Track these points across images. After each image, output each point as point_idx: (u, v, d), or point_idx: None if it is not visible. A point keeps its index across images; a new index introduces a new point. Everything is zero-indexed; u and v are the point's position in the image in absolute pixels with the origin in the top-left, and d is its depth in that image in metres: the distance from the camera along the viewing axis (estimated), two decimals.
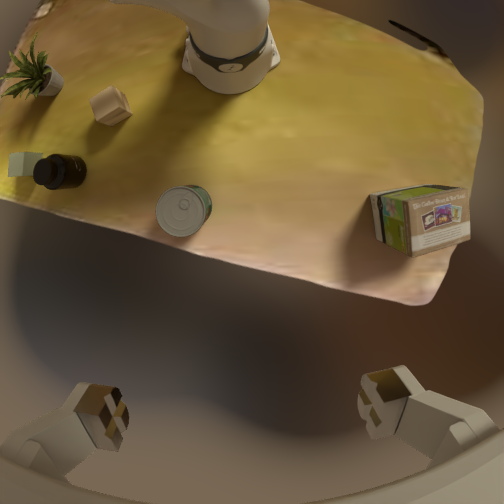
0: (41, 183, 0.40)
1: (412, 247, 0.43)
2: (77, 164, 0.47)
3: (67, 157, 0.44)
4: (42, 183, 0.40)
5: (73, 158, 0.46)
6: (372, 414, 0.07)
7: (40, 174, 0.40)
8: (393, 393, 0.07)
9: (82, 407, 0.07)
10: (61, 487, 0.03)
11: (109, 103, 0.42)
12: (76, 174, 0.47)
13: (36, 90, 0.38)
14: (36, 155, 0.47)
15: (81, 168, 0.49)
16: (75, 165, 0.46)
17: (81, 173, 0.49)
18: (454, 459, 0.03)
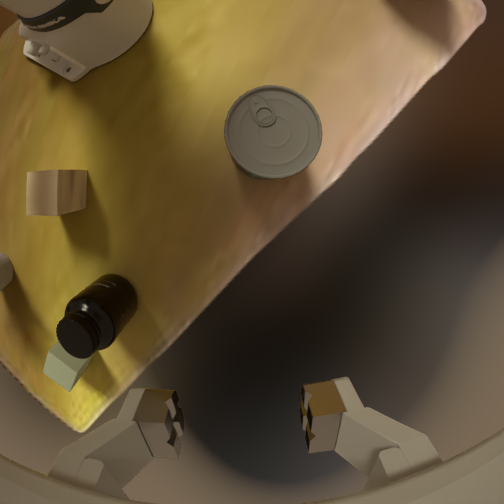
0: (90, 350, 0.25)
1: None
2: (103, 283, 0.31)
3: (83, 291, 0.29)
4: (90, 349, 0.25)
5: (92, 284, 0.31)
6: (308, 426, 0.07)
7: (76, 344, 0.25)
8: (326, 407, 0.07)
9: (143, 415, 0.07)
10: (61, 487, 0.03)
11: (46, 184, 0.25)
12: (116, 292, 0.31)
13: None
14: None
15: (113, 281, 0.33)
16: (102, 286, 0.30)
17: (121, 284, 0.33)
18: (454, 459, 0.03)
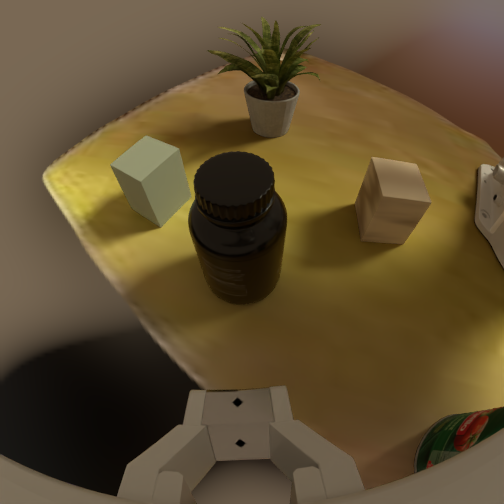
0: (213, 198, 0.16)
1: None
2: None
3: None
4: (217, 200, 0.16)
5: None
6: None
7: (225, 178, 0.17)
8: (254, 415, 0.07)
9: (212, 418, 0.07)
10: (61, 487, 0.03)
11: (413, 186, 0.23)
12: (272, 271, 0.22)
13: None
14: (183, 185, 0.29)
15: (279, 270, 0.24)
16: None
17: (273, 282, 0.24)
18: (454, 459, 0.03)
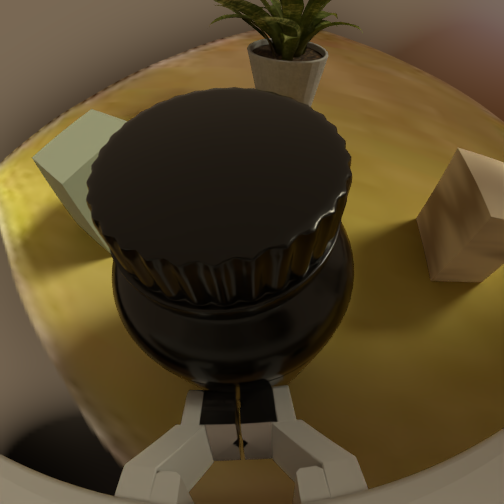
0: (127, 228, 0.04)
1: None
2: None
3: None
4: (139, 237, 0.04)
5: None
6: None
7: (183, 153, 0.05)
8: (257, 415, 0.07)
9: (210, 418, 0.07)
10: (61, 487, 0.03)
11: None
12: None
13: None
14: None
15: None
16: None
17: None
18: (454, 459, 0.03)
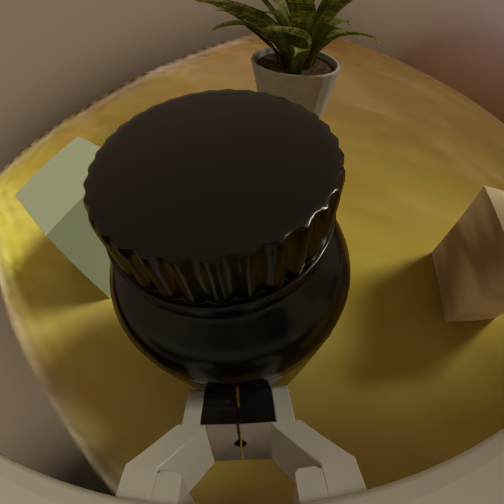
0: (124, 228, 0.04)
1: None
2: None
3: None
4: (135, 236, 0.04)
5: None
6: None
7: (179, 154, 0.05)
8: (255, 415, 0.07)
9: (210, 418, 0.07)
10: (61, 487, 0.03)
11: None
12: (302, 368, 0.10)
13: None
14: None
15: None
16: None
17: None
18: (454, 459, 0.03)
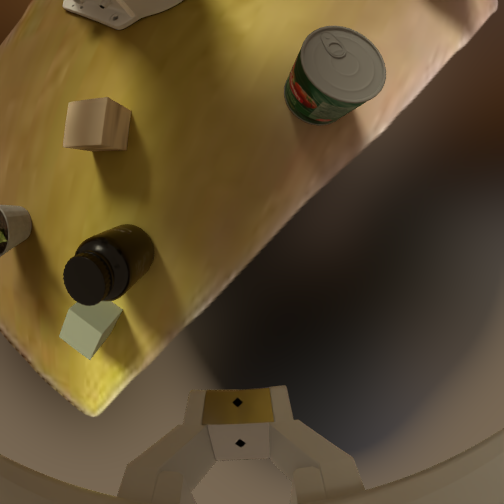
0: (101, 293, 0.23)
1: None
2: (118, 229, 0.30)
3: None
4: (102, 291, 0.23)
5: None
6: None
7: (85, 287, 0.23)
8: (254, 415, 0.07)
9: (212, 418, 0.07)
10: (61, 487, 0.03)
11: (91, 112, 0.24)
12: (132, 237, 0.29)
13: None
14: None
15: (129, 228, 0.31)
16: (117, 230, 0.29)
17: (137, 232, 0.31)
18: (454, 459, 0.03)
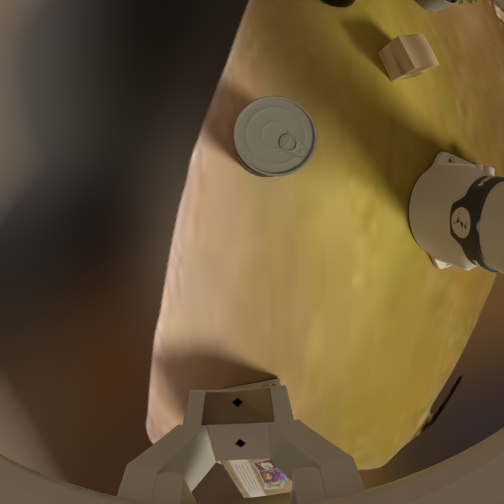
0: None
1: None
2: None
3: None
4: None
5: None
6: None
7: None
8: (254, 415, 0.07)
9: (212, 418, 0.07)
10: (61, 487, 0.03)
11: (418, 57, 0.27)
12: None
13: None
14: None
15: (343, 0, 0.28)
16: None
17: None
18: (454, 459, 0.03)
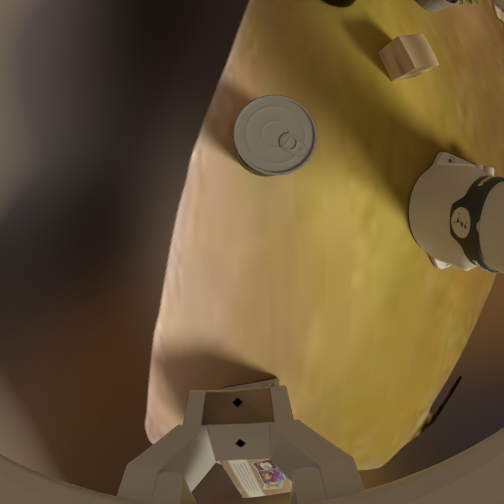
0: None
1: None
2: None
3: None
4: None
5: None
6: None
7: None
8: (254, 415, 0.07)
9: (212, 418, 0.07)
10: (61, 487, 0.03)
11: (419, 57, 0.27)
12: None
13: None
14: None
15: (344, 0, 0.28)
16: None
17: None
18: (454, 459, 0.03)
